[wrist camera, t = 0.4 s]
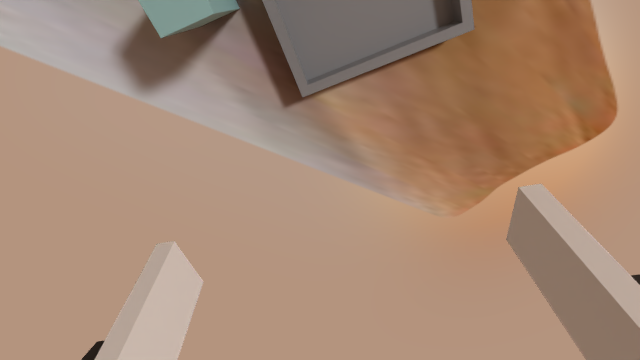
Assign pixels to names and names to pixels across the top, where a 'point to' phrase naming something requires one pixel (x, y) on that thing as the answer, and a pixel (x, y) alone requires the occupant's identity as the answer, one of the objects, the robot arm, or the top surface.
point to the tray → (359, 34)
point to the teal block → (185, 13)
